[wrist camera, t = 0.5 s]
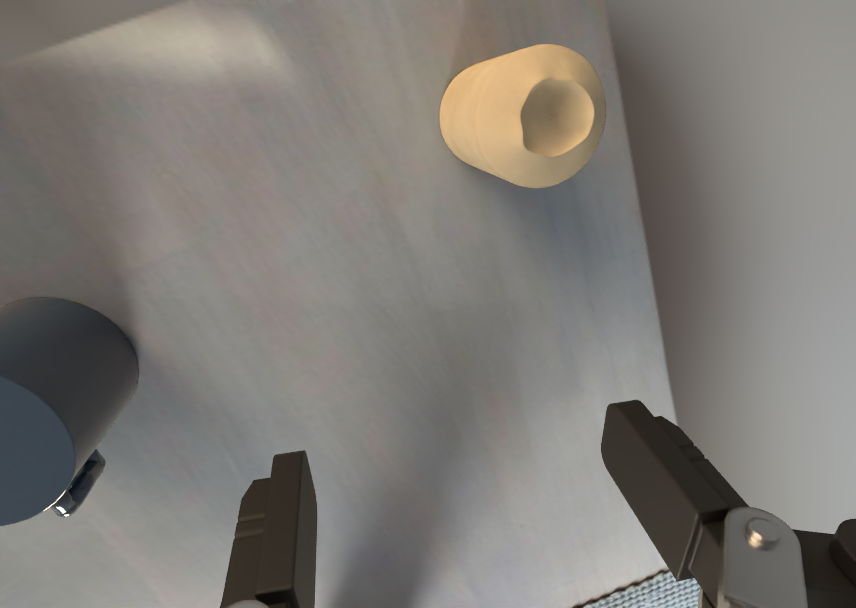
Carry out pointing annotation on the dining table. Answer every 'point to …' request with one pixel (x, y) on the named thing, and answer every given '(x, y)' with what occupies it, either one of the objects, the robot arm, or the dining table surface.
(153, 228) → the dining table surface
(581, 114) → the candle
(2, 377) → the mug
